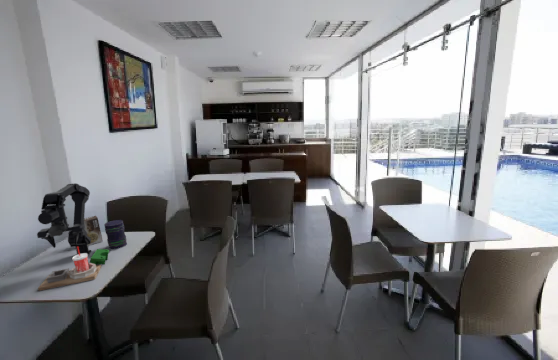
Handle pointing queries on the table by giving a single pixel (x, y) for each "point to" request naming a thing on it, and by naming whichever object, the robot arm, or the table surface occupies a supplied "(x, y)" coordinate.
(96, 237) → the coffee box
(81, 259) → the beverage cup
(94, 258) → the clamp
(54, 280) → the socket board
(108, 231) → the storage jar
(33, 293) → the table surface
